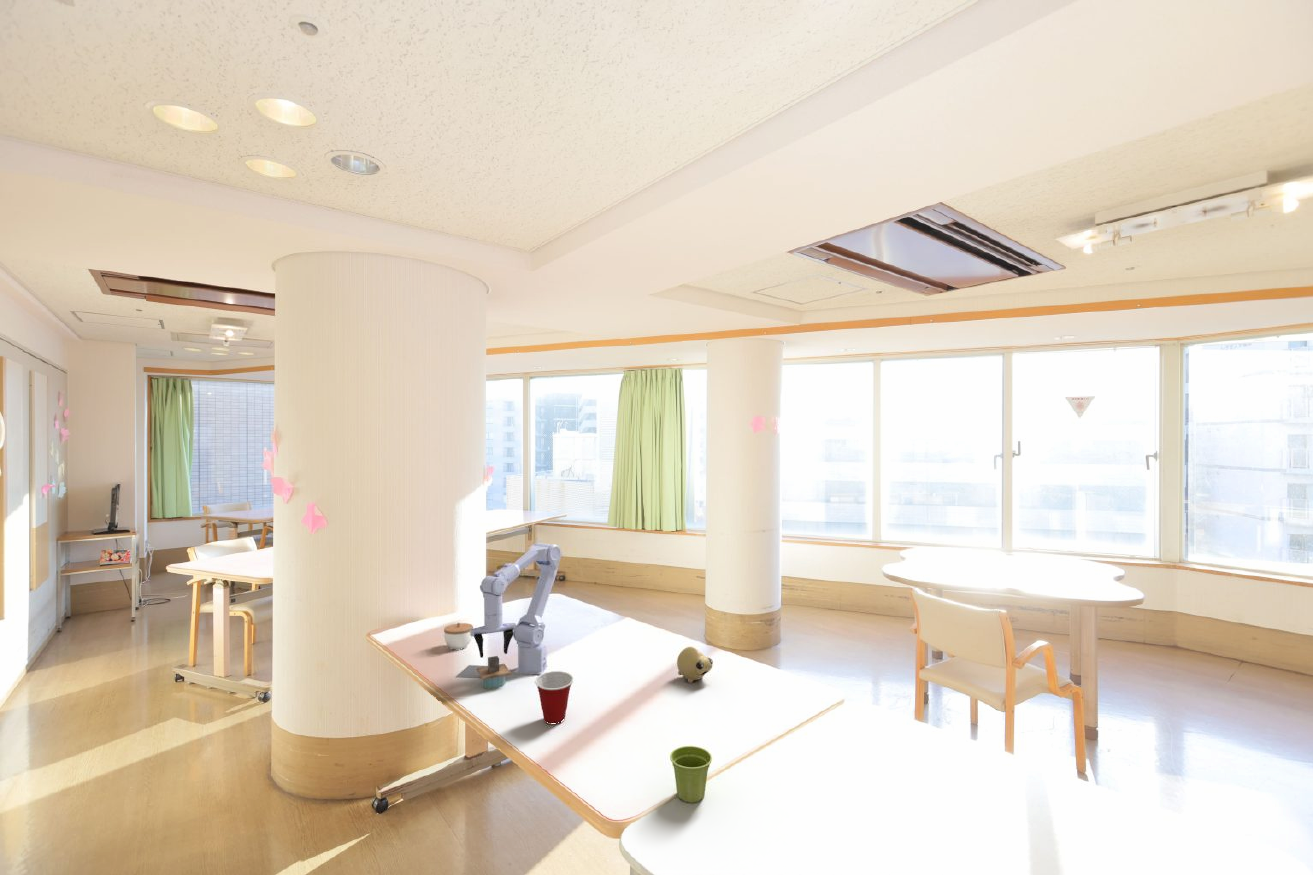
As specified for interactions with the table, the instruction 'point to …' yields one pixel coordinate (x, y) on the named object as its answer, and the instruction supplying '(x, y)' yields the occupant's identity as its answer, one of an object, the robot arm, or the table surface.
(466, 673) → the mat
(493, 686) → the bowl
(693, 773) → the plant pot
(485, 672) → the cover
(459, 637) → the lidded jar
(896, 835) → the table surface
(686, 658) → the tan toy animal
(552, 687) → the plastic cup
